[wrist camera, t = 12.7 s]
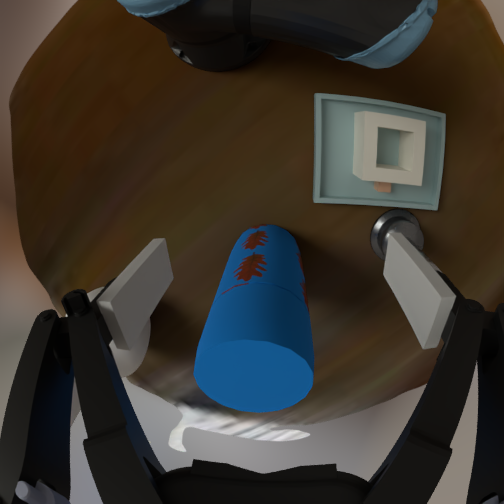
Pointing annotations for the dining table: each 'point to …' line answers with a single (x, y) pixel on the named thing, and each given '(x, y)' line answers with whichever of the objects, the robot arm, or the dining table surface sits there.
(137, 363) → the vase
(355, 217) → the dining table surface
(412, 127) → the ring
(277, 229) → the thermos
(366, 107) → the tray
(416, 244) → the stake
